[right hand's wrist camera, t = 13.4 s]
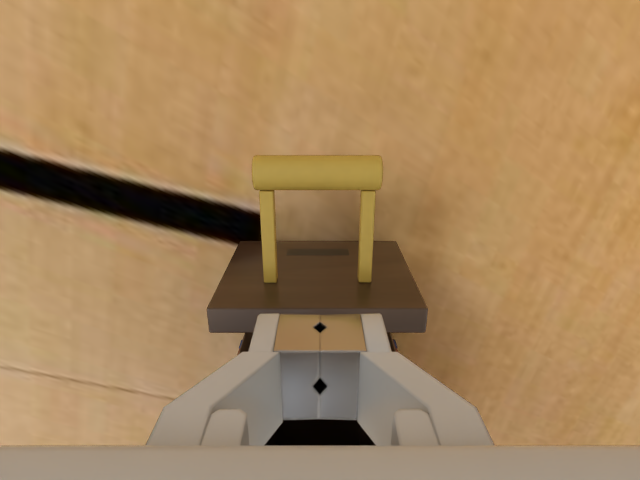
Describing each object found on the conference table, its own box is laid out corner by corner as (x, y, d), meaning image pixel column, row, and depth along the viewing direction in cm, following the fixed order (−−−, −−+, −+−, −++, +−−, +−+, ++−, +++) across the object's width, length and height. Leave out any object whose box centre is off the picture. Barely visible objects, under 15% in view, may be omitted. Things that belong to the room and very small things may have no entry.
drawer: (232, 139, 22) (190, 167, 15) (403, 139, 22) (443, 167, 15) (254, 445, 30) (234, 561, 23) (381, 445, 30) (401, 561, 23)
